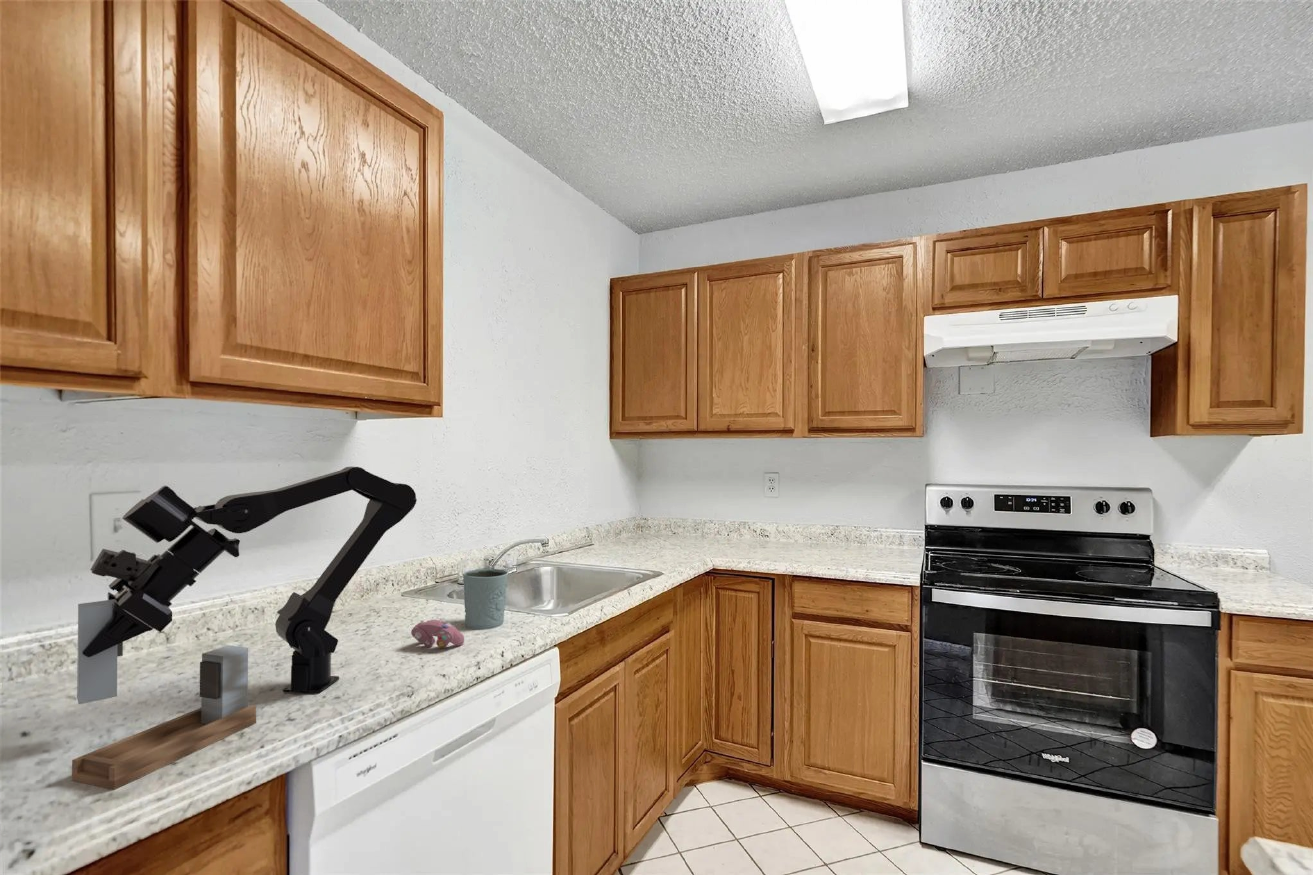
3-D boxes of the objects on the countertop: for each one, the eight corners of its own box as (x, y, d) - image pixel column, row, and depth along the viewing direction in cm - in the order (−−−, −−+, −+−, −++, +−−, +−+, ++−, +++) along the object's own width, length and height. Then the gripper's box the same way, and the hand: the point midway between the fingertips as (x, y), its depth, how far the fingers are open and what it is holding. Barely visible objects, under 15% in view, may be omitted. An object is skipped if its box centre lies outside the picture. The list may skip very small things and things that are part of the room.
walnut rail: (218, 716, 95) (219, 644, 96) (256, 722, 93) (257, 648, 94) (71, 780, 77) (73, 690, 77) (114, 789, 75) (116, 697, 75)
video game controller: (414, 653, 130) (405, 627, 127) (425, 637, 134) (417, 612, 131) (457, 657, 128) (448, 630, 125) (467, 641, 132) (459, 615, 129)
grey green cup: (460, 620, 149) (461, 570, 149) (504, 616, 153) (504, 567, 153) (465, 632, 139) (465, 578, 139) (511, 627, 143) (511, 574, 143)
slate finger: (119, 687, 92) (120, 598, 92) (122, 695, 89) (123, 603, 89) (77, 696, 88) (78, 603, 88) (78, 704, 85) (79, 609, 86)
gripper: (128, 522, 98) (27, 606, 90) (142, 534, 85) (26, 633, 77) (190, 566, 103) (100, 648, 96) (212, 583, 90) (110, 680, 82)
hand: (84, 651), depth 87 cm, fingers closed on slate finger, 4 cm apart
